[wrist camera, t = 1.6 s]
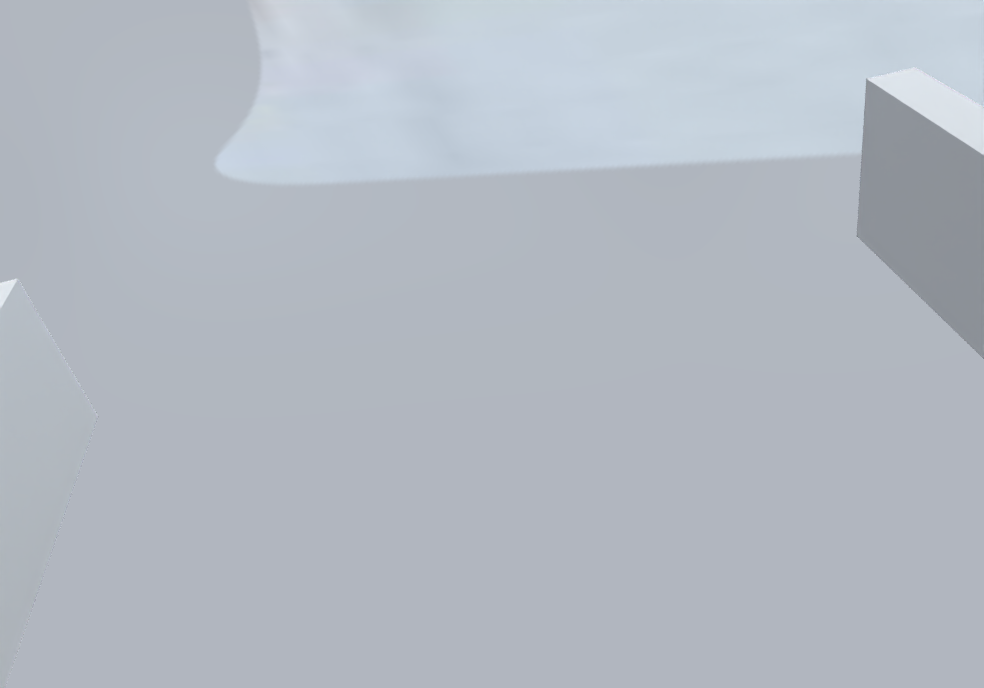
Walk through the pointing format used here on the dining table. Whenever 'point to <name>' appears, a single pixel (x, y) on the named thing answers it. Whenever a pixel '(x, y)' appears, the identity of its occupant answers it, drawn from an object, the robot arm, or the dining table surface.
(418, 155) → the dining table surface
